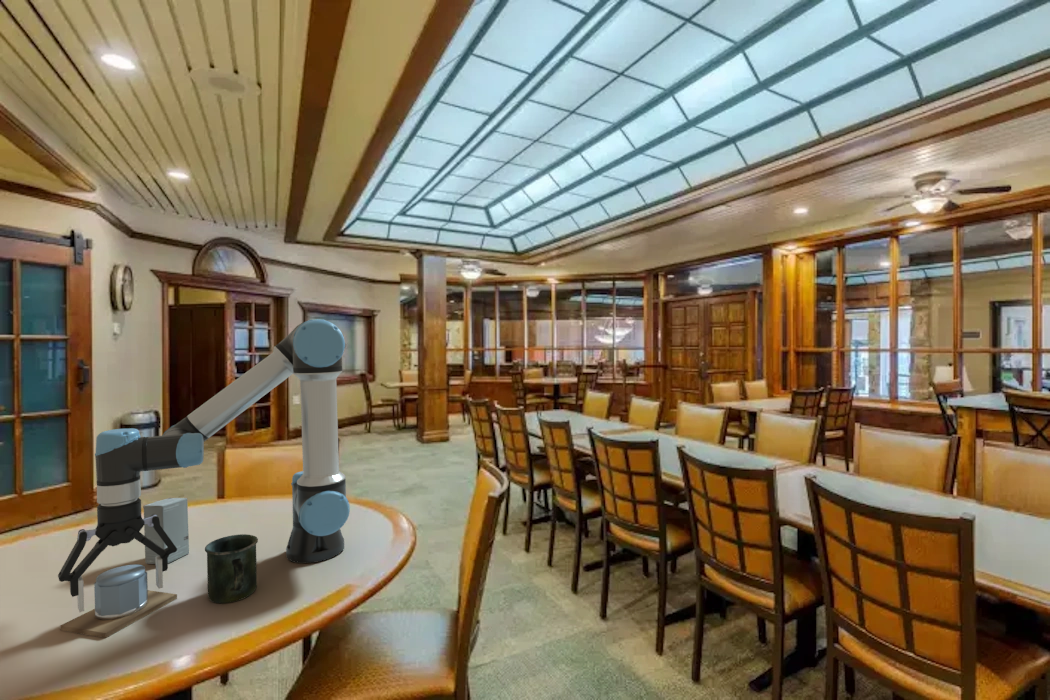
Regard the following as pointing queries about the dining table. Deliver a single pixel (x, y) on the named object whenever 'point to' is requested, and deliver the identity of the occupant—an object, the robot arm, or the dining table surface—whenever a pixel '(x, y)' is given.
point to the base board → (108, 627)
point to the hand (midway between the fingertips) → (121, 597)
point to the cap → (120, 589)
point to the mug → (231, 568)
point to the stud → (117, 616)
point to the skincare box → (168, 527)
